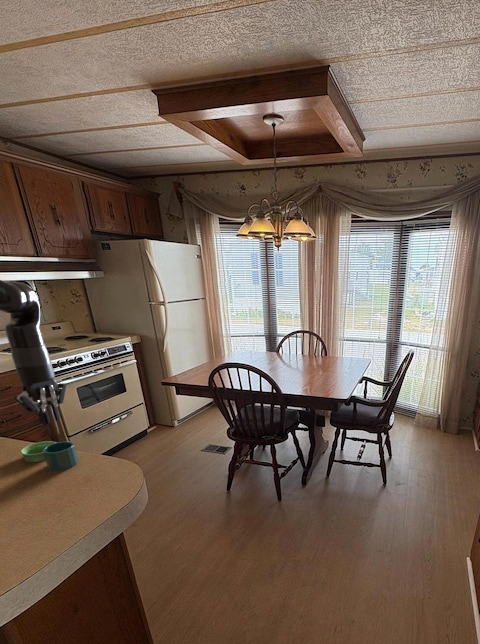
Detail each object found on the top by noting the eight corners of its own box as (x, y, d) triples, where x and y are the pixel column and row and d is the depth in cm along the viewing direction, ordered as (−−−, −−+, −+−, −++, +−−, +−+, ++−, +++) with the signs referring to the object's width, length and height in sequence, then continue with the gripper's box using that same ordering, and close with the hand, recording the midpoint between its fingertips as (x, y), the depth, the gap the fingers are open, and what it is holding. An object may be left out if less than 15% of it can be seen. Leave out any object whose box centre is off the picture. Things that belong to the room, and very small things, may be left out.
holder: (43, 473, 100) (35, 451, 98) (65, 461, 107) (59, 440, 104) (64, 477, 99) (58, 454, 96) (85, 464, 106) (79, 443, 103)
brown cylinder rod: (48, 435, 98) (39, 406, 94) (55, 432, 100) (46, 403, 96) (54, 436, 98) (46, 407, 94) (61, 433, 100) (53, 404, 96)
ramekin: (30, 455, 110) (26, 443, 108) (64, 451, 113) (60, 439, 112) (20, 469, 102) (16, 456, 100) (57, 464, 106) (53, 451, 104)
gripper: (45, 355, 97) (61, 412, 104) (-7, 367, 85) (15, 430, 92) (67, 357, 96) (82, 414, 103) (18, 370, 84) (39, 433, 90)
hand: (51, 421), depth 97 cm, fingers closed on brown cylinder rod, 2 cm apart
